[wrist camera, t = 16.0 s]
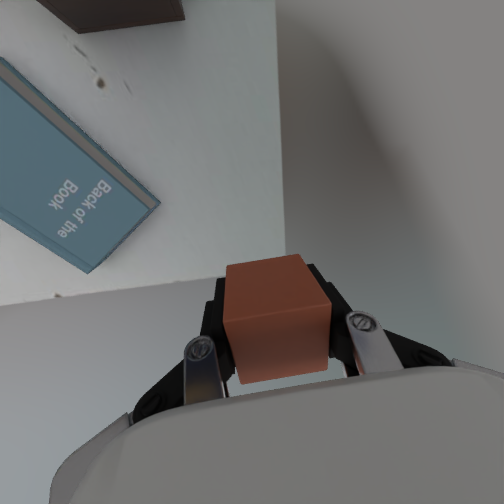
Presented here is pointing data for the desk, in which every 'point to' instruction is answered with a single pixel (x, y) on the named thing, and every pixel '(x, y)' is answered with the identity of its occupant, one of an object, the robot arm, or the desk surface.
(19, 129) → the book
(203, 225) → the desk surface
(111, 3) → the chest
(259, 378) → the block
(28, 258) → the desk surface
